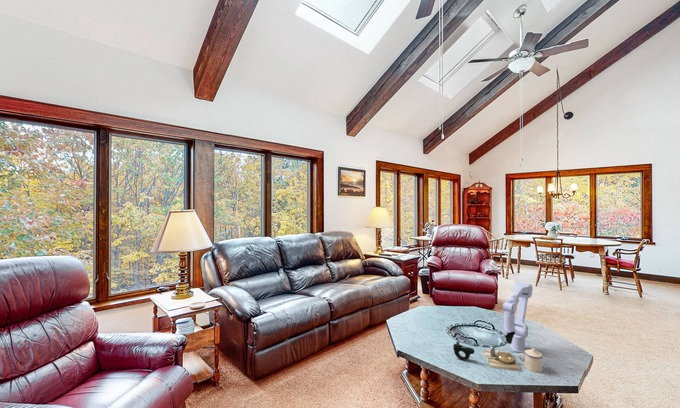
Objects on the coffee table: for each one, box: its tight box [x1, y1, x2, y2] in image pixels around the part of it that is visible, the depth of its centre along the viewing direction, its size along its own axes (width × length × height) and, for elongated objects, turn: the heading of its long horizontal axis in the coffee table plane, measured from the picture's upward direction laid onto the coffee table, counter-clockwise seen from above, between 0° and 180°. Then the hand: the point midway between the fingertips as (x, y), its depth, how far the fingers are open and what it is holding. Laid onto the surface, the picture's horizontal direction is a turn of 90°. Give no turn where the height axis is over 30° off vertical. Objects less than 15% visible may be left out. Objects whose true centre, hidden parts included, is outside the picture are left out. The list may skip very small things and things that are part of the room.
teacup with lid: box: [518, 347, 544, 373], centre depth 178 cm, size 12×9×12 cm
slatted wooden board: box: [483, 349, 521, 372], centre depth 186 cm, size 19×16×2 cm
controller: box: [452, 341, 475, 361], centre depth 188 cm, size 4×12×10 cm, turn 56°
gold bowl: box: [490, 345, 515, 364], centre depth 184 cm, size 13×9×7 cm
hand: (509, 343), depth 189 cm, fingers closed
